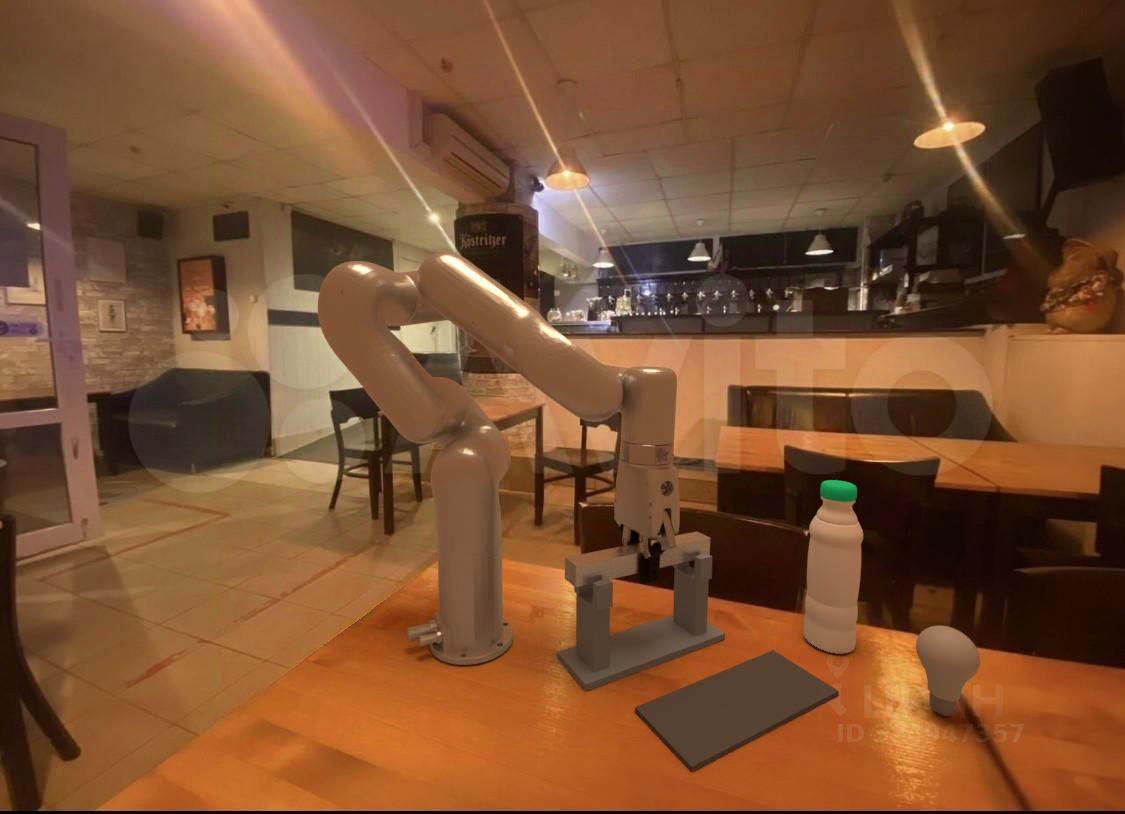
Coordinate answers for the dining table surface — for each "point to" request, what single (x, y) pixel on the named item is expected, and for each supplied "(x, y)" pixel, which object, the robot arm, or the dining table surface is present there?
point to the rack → (639, 629)
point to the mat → (733, 707)
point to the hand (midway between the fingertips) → (640, 574)
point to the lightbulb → (946, 665)
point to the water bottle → (833, 570)
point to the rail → (630, 559)
